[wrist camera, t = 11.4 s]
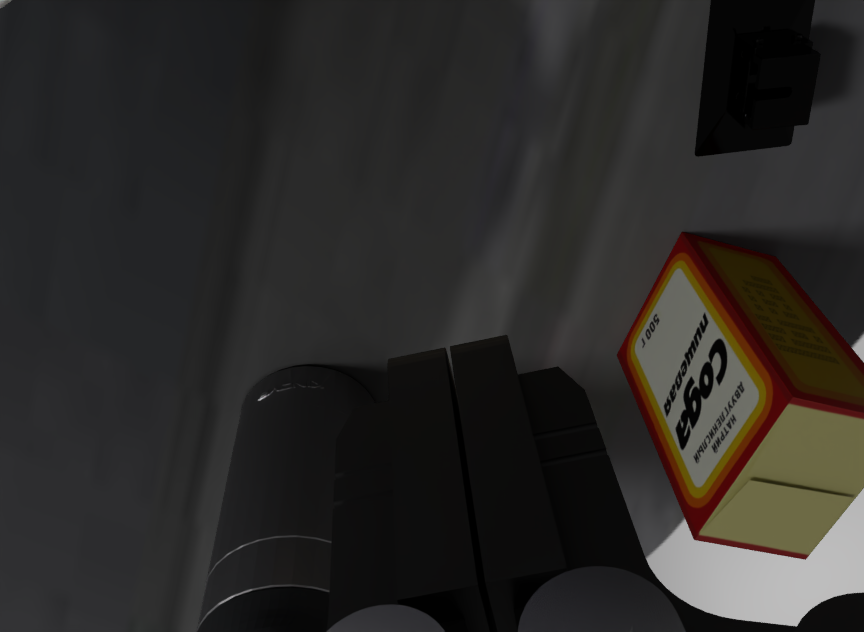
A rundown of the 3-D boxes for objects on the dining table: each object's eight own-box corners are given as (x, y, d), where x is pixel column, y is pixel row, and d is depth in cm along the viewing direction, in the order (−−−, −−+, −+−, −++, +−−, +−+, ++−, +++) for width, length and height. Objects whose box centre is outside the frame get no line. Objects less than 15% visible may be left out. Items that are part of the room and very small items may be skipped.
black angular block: (697, -52, 41) (730, -34, 37) (841, -66, 41) (890, -50, 37) (676, 177, 48) (702, 212, 44) (800, 165, 48) (837, 199, 44)
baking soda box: (681, 231, 49) (796, 402, 36) (775, 256, 51) (919, 430, 37) (616, 355, 54) (696, 545, 41) (704, 374, 56) (808, 565, 42)
